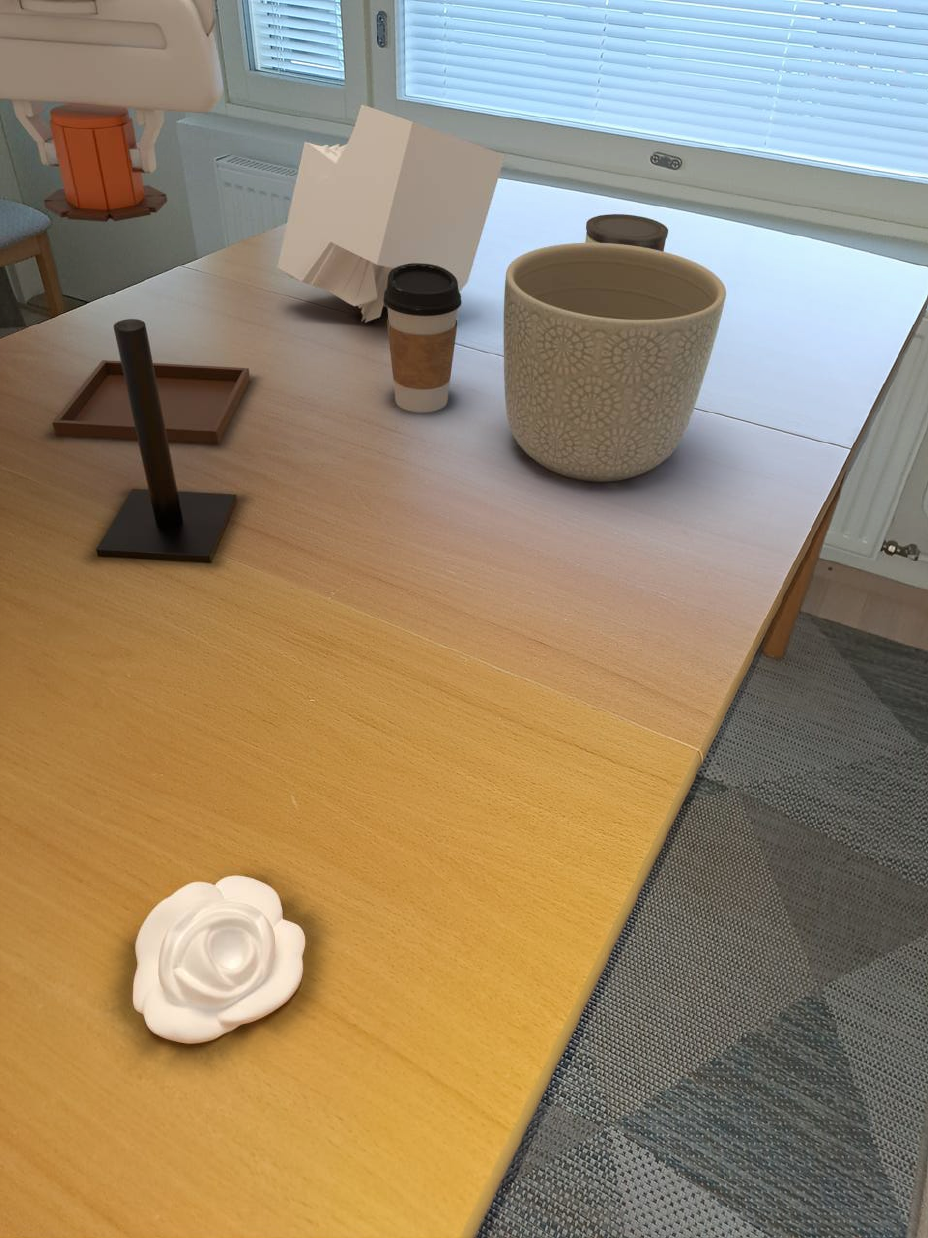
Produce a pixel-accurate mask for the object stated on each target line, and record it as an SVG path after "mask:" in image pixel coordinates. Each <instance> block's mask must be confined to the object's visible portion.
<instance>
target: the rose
mask: <svg viewBox="0 0 928 1238" xmlns="http://www.w3.org/2000/svg"><path fill="white" fill-rule="evenodd" d="M281 902H282V901H281V899H280V896H279V895H278V893H277V892H276V890H275V889H274V888H273V887H271V886H270V885H269V884H268V883H267V884H266V883H264V882H262V881H260V880H258V879H256V878H252V877H250V876H249V877H248V876H244V875H229V876H225V877H223V878H221V879H220V880H218V881H217V882H216V883H215V884H213V883H211V882H207V881H194V882H190V883H187V884H185V885H184V886H182V887H180V888H179V889H178V890H176V891H175V892H173V893H172V894H171V895H170V896H168V897H166V898H164V899H163V900H161V901H159V903H158V904H156V905H155V906H154V908H152V910H151V911H150V912H149V914H148V915H147V917H145V919H144V922H143V923H142V925H141V927H140V929H139V931H138V934H137V937H136V940H135V945H134V948H135V949H134V951H135V952H134V953H135V957H136V964H137V967H136V970H135V974H134V978H133V986H132V1003H133V1008H134V1009H135V1011H136V1012H138V1013H139V1014H141V1015H143V1018H144V1021H145V1024H146V1026H147V1028H148V1029H149V1030H150V1031H151V1032H152V1033H153V1034H155V1035H157V1036H158V1037H161V1038H164V1039H166V1040H169V1041H173V1042H177V1043H183V1044H200V1043H201V1044H202V1043H206V1042H210V1041H213V1040H216V1039H217V1038H219V1037H221V1036H222V1035H225V1034H227V1033H230V1032H232V1031H233V1030H235V1029H236V1028H238V1027H239V1026H242V1025H244V1024H250V1023H253V1022H255V1021H258V1020H260V1019H262V1018H264V1017H266V1016H268V1015H269V1014H271V1013H273V1012H274V1011H276V1010H277V1009H279V1008H280V1007H282V1006H283V1005H284V1004H286V1003H287V1002H288V1001H289V1000H290V999H291V997H292V996H293V995H294V994H295V993H296V991H297V989H298V988H299V986H300V984H301V982H302V979H303V974H304V961H303V954H304V951H305V949H306V937H305V932H304V931H303V929H302V928H301V927H300V925H298V924H296V923H294V922H292V921H289V920H286V919H284V918H283V917H284V913H283V912H284V911H283V907H282V903H281Z"/></svg>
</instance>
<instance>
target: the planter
mask: <svg viewBox="0 0 928 1238" xmlns="http://www.w3.org/2000/svg"><path fill="white" fill-rule="evenodd" d="M503 294H504V297H503V382H504V383H503V384H504V385H503V387H504V400H505V411H506V419H507V422H508V426H509V429H510V431H511V434H512V436H513V438H514V439H515V441H516V443H517V444H518V446H519V447H520V448H521V449H522V450H523V452H525V453H526V454H527V456H529V457H530V458H531V459H532V460H533V461H535V462H536V463H538V464H539V465H541V466H542V467H544V468H545V469H547V470H549V471H551V472H553V473H555V474H558V475H560V476H563V477H566V478H569V479H573V480H579V481H585V482H596V483H597V482H598V483H602V482H603V483H605V482H607V483H608V482H618V481H623V480H627V479H631V478H634V477H637V476H641V475H642V474H645V473H647V472H649V471H651V470H652V469H654V468H656V467H657V466H659V465H661V464H662V463H663V462H664V461H665V460H667V459H668V458H669V457H670V456H671V455H672V454H673V453H674V452H675V450H676V449H677V447H678V446H679V444H680V443H681V441H682V439H683V437H684V435H685V433H686V431H687V428H688V426H689V423H690V420H691V418H692V416H693V412H694V409H695V407H696V404H697V401H698V398H699V395H700V392H701V389H702V385H703V382H704V378H705V375H706V372H707V368H708V365H709V362H710V360H711V356H712V353H713V349H714V346H715V341H716V339H717V335H718V332H719V331H718V330H719V327H720V324H721V320H722V316H723V311H724V307H725V302H726V296H727V290H726V286H725V284H724V283H723V281H722V280H721V279H720V278H719V276H717V275H716V274H715V273H714V272H712V271H711V270H709V269H708V267H707V268H706V267H705V266H704V265H701V264H699V263H697V262H695V261H693V260H691V259H688V258H686V257H683V256H680V255H677V254H674V253H670V252H667V251H664V252H663V251H659V250H654V249H649V248H644V247H638V246H631V245H623V244H611V243H585V242H572V243H563V244H555V245H548V246H545V247H541V248H537V249H534V250H531V251H530V250H529V251H528V252H526V253H523V254H521V255H520V256H518V257H517V258H515V259H514V260H512V261H511V263H510V264H509V265H508V266H507V268H506V272H505V280H504V293H503Z"/></svg>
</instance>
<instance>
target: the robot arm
mask: <svg viewBox="0 0 928 1238" xmlns="http://www.w3.org/2000/svg"><path fill="white" fill-rule="evenodd" d="M216 15H217V14H216V6H215V0H0V100H10V101H11V103H12V106H13V110H14V115H15V117H16V119H17V120H18V121H19V122H20V124H21V125H22V126H23V128H24V129H25V130H26V131H27V133H28V134H29V135H30V137H31V139H32V140H34V142H36V144H37V148H38V149H37V150H38V153H39V157H40V162H41V164H42V165H43V166H45V167H59V163H58V158H57V154H56V149H55V145H54V140H53V136H52V131H51V128H50V127H49V126H48V125H47V123H46V122H45V120H44V118H43V116H42V115H41V113H42V112H44V111H45V110H46V109H45V103H53V104H65V105H66V104H80V105H94V106H108V107H122V108H127V109H134V111H135V117H136V122H137V124H138V125H140V126H144V130H143V132H142V135H141V138H140V141H139V142H136V143H135V144H133V146H131V147H129V148H128V150H129V156H130V160H131V167H132V170H133V172H141V174H142V173H143V174H152V173H154V172H155V171H156V169H157V157H156V151H155V147H154V146H155V144H156V142H157V139H158V137H159V134H160V132H161V129H162V127H163V125H164V122H165V115H164V114H165V113H164V111H166V112H179V113H191V114H193V113H195V114H206V113H208V112H210V111H211V110H212V109H214V107H216V105H217V104H219V102H220V100H221V99H222V97H223V95H224V80H223V75H222V67H221V63H220V62H221V61H220V57H219V52H218V48H217V44H216V40H215V36H214V35H215V34H214V31H213V30H214V28H215V24H216V21H217V20H216V18H217V16H216Z"/></svg>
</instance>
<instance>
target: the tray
mask: <svg viewBox="0 0 928 1238" xmlns="http://www.w3.org/2000/svg"><path fill="white" fill-rule="evenodd" d="M153 366H154V372H155V377H156V382H157V387H158V392H159V398H160V403H161V408H162V413H163V418H164V424H165V429H166V434H167V439H168V443H177V444H178V443H179V444H181V443H182V444H196V445H197V444H198V445H212V446H213V445H216V446H219V445H220V443H221V441H222V439H223V437H224V435H225V433H226V430H227V429H228V427H229V424H230V423H231V421H232V419H233V417H234V415H235V413H236V410H237V409H238V407H239V404H240V402H241V400H242V398H243V396H244V395H245V392H246V390H247V388H248V386H249V385H250V382H251V375H250V368H249V367H234V366H233V367H232V366H217V365H216V366H215V365H199V364H181V363H179V364H177V363H163V362H162V363H160V362H153ZM51 424H52V426H53V430H54V433H55V437H73V438H89V439H90V438H91V439H108V440H127V441H138V438H137V434H136V429H135V424H134V420H133V415H132V410H131V406H130V401H129V396H128V392H127V387H126V383H125V378H124V373H123V369H122V364H121V360H110V359H109V360H107V359H106V360H105V359H103V360H101V361H100V362H99V364H98V365H97V366H96V367H95V369H94V370H92V373H90V375H89V376H88V377H87V378H86V380H85V381H84V382H83V383H82V384H81V386H80V387H79V388H78V390H77V391H76V392H75V393H74V395H73V396H72V397H71V398H70V399H69V400H68V402H67V404H66V405H65V406H64V407H63V408H62V409H61V411H60V412H59V413H58V414H57V416H56V417H55V418H54V420H53V421H52V423H51Z"/></svg>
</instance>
